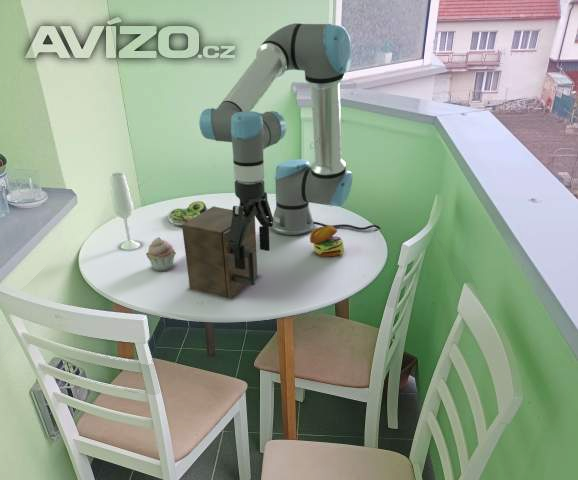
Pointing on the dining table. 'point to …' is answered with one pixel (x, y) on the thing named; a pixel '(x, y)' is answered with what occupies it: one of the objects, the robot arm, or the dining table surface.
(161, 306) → the dining table surface
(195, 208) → the plate of green donuts
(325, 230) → the cheeseburger
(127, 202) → the champagne flute
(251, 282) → the cupboard door
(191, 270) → the cupboard
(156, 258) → the cupcake
